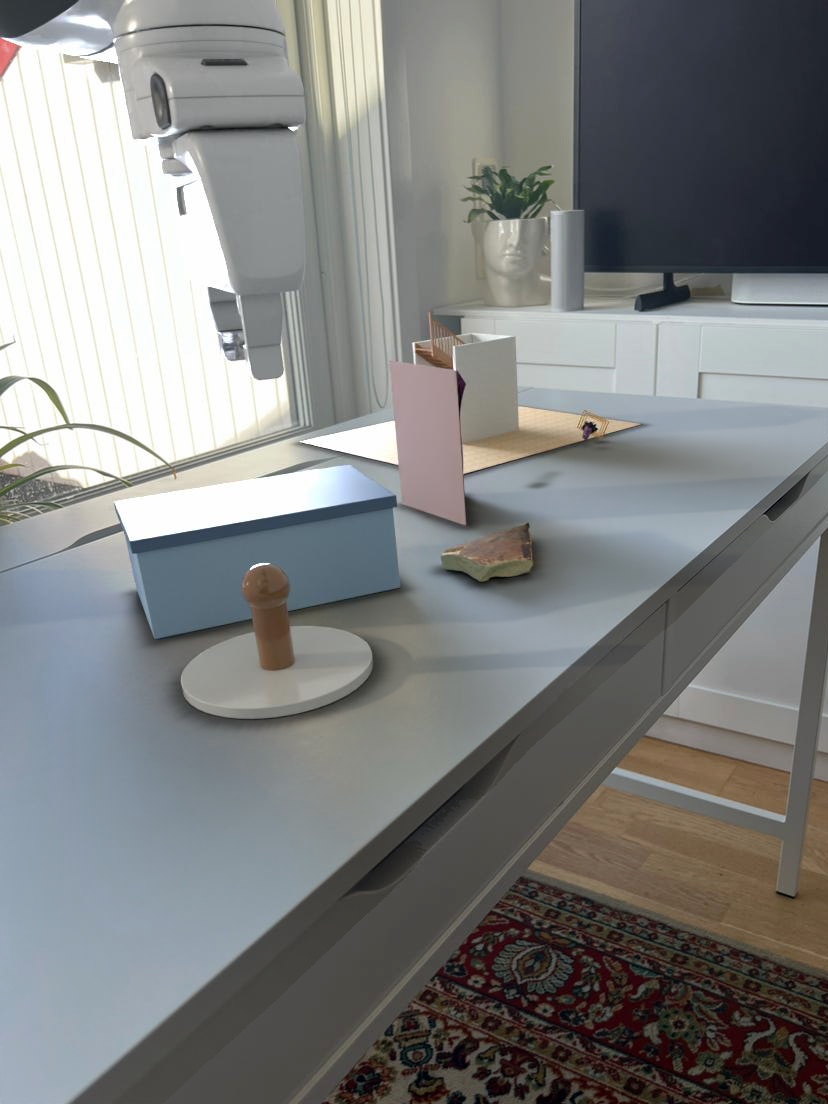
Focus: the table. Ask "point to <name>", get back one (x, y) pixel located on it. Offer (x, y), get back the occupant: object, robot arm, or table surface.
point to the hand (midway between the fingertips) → (251, 368)
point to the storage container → (259, 544)
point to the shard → (492, 555)
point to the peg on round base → (275, 660)
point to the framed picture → (591, 426)
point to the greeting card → (429, 438)
